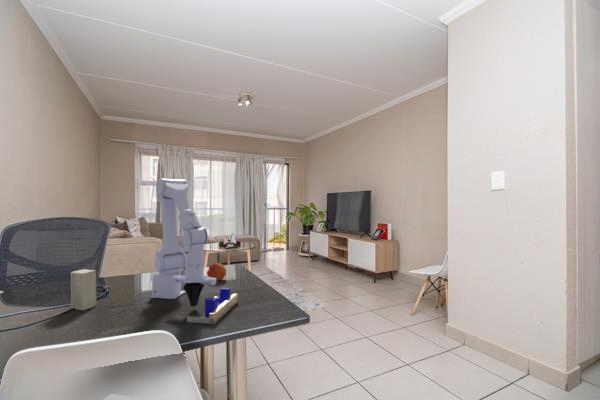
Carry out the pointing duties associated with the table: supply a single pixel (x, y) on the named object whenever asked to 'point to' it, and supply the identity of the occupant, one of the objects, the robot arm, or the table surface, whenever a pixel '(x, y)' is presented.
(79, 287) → the skincare box
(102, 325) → the table surface
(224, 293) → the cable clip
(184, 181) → the robot arm
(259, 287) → the table surface
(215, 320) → the frame
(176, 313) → the table surface
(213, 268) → the fruit
